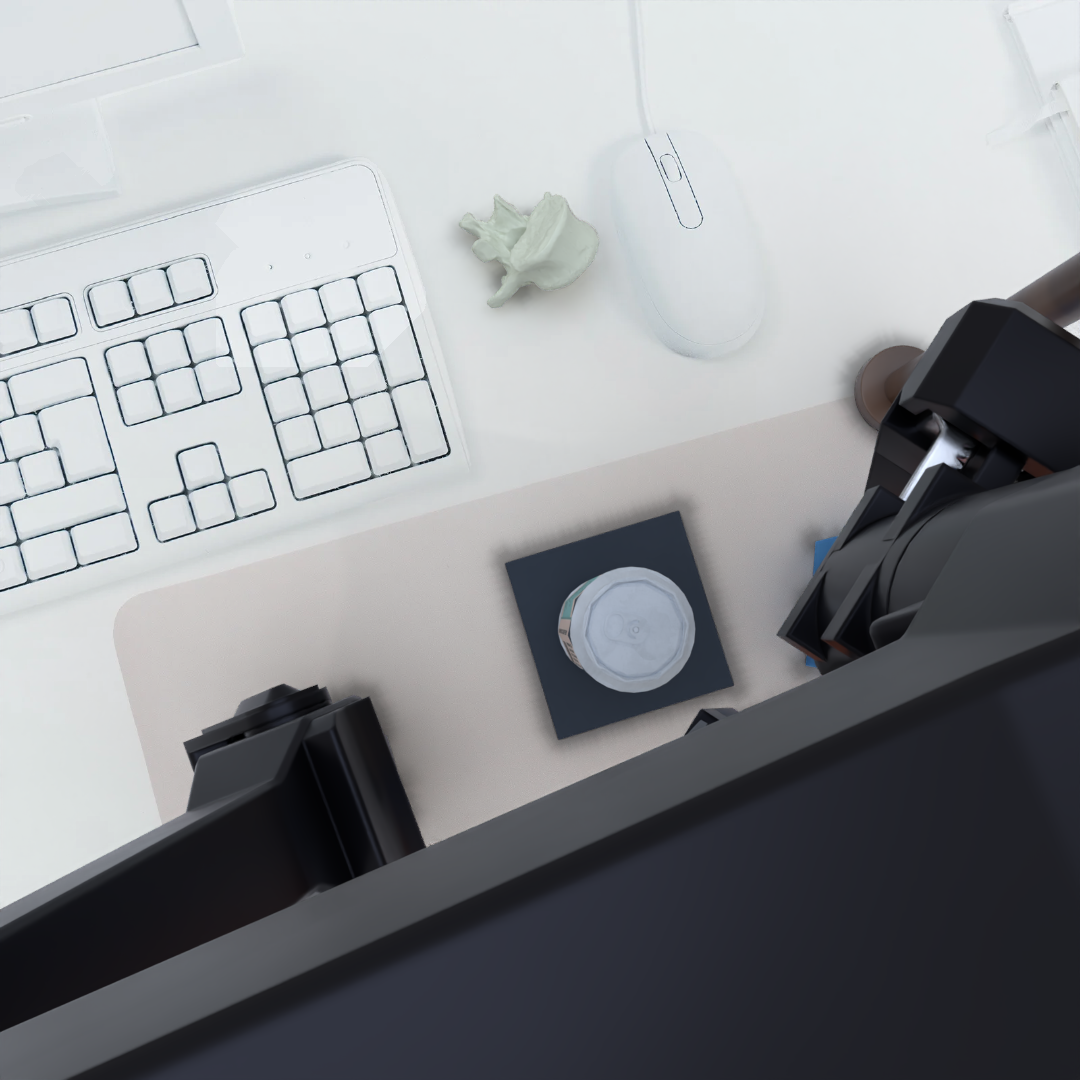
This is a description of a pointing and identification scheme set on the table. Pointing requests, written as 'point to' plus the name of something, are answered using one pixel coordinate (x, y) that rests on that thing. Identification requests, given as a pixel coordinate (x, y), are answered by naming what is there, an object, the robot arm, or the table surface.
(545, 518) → the table surface
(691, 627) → the beer can
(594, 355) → the table surface
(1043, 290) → the marker post
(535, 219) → the vertebra
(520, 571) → the slate mat
